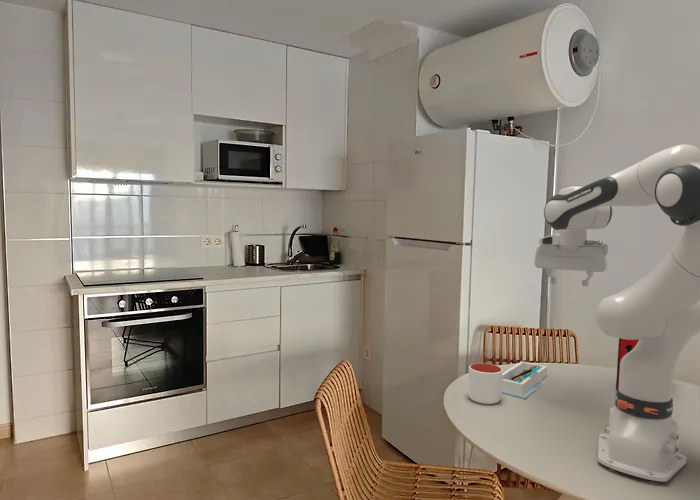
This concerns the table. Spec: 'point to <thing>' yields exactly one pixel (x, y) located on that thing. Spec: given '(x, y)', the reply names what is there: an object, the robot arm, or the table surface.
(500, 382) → the cup
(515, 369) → the white blue rectangular tray
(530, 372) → the gear mechanism
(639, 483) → the table surface
